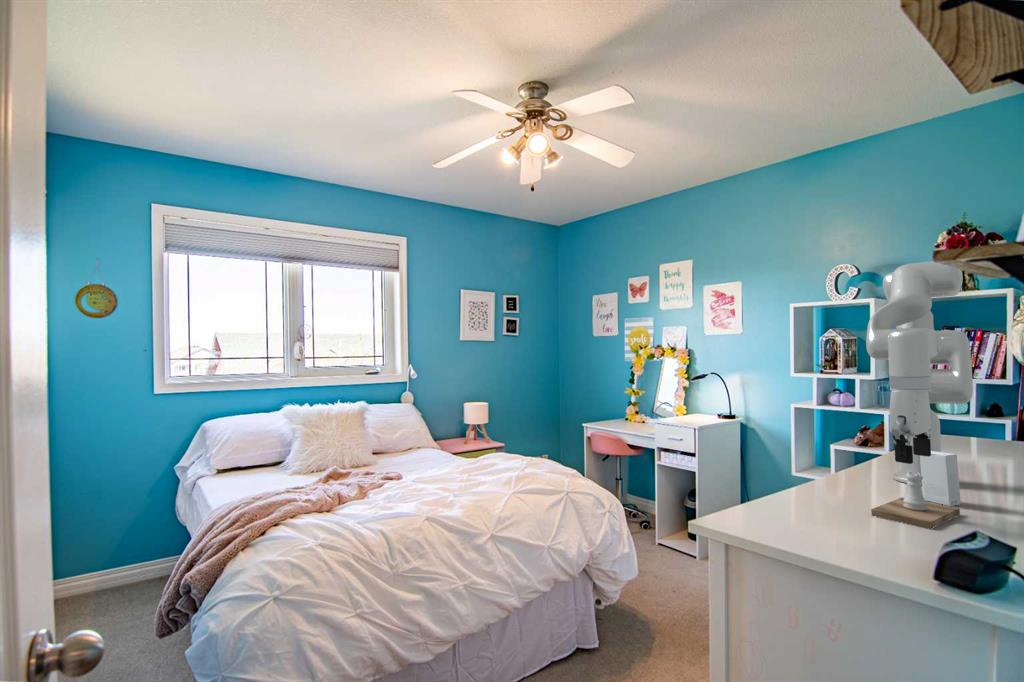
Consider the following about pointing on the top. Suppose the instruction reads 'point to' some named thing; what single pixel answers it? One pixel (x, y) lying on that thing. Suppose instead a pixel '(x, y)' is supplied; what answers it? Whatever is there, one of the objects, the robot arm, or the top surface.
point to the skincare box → (940, 478)
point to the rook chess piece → (914, 493)
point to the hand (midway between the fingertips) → (913, 459)
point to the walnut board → (915, 513)
